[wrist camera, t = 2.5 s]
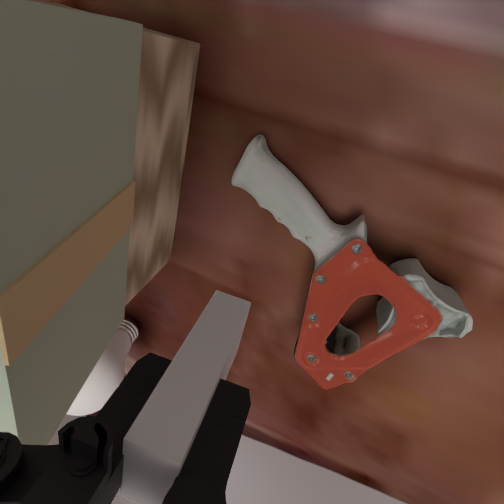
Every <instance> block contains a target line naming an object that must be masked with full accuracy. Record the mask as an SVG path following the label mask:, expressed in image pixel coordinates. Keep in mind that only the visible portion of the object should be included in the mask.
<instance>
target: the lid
mask: <svg viewBox="0 0 504 504" xmlns="http://www.w3.org/2000/svg"><path fill="white" fill-rule="evenodd" d="M142 33H143V24H140V23H136V22H132V21H129V20H124V19H119V18H114V17H109V16H104V15H99V14H94V13H89V12H84V11H79V10H74V9H69V8H64V7H59V6H54V5H49V4H44V3H39V2H34V1H29V0H0V432H9V433H11V434H13V435H15V436H17V437H18V439H19V440H20V442H21V444H25V445H48V443H49V441H50V440H51V438H52V436H53V435H54V433H55V431H56V430H57V428H58V426H59V425H60V423H61V421H62V420H63V418H64V416H65V415H66V413H67V412H68V410H69V408H70V407H71V405H72V403H73V402H74V400H75V398H76V397H77V395H78V393H79V392H80V390H81V388H82V387H83V385H84V383H85V382H86V380H87V378H88V377H89V375H90V373H91V372H92V370H93V369H94V367H95V365H96V364H97V362H98V360H99V359H100V357H101V355H102V354H103V352H104V350H105V349H106V347H107V345H108V344H109V342H110V340H111V339H112V337H113V335H114V334H115V332H116V330H117V329H118V327H119V326H120V324H121V322H122V321H123V319H124V315H125V299H126V284H127V268H128V252H129V237H130V228H131V227H132V226H133V212H134V197H135V183H136V181H134V180H133V174H134V158H135V143H136V127H137V111H138V96H139V80H140V64H141V49H142Z"/></svg>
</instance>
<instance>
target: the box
mask: <svg viewBox="0 0 504 504" xmlns="http://www.w3.org/2000/svg"><path fill="white" fill-rule="evenodd" d="M29 1H34V2H39V3H44V4H49V5H54V6H59V7H64V8H69V9H74V10H79V11H83V10H80V9H76V8H72V7H69V6H65V5H62V4H58V3H53V2H49V1H45V0H29ZM84 12H87V11H84ZM89 13H90V12H89ZM200 45H201V44H200V43H197V42H193V41H190V40H186V39H183V38H179V37H176V36H172V35H168V34H165V33H161V32H158V31H154V30H151V29H147V28H144V27H143V33H142V49H141V64H140V80H139V96H138V111H137V127H136V143H135V158H134V174H133V180H134V181H136V183H135V197H134V212H133V226H132V227H131V228H130V237H129V252H128V268H127V284H126V299H125V306H126V305H127V304H128V303H129V302H130V301H131V300H132V299H133V298H134V296H135V295H136V294H137V293H138V292H139V291H140V290H141V289H142V288H143V287H144V286H145V285H146V284H147V283H148V282H149V281H150V280H151V279H152V278H153V277H154V276H155V275H156V274H157V273H158V272H159V271H160V270H161V269H162V268H163V267H164V265H165V264H166V263H167V262H168V261H169V260H170V259H171V255H172V247H173V240H174V233H175V226H176V219H177V211H178V204H179V197H180V190H181V182H182V175H183V168H184V161H185V154H186V146H187V139H188V132H189V125H190V117H191V110H192V103H193V96H194V88H195V81H196V74H197V67H198V60H199V52H200Z"/></svg>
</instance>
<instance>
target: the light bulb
mask: <svg viewBox="0 0 504 504" xmlns="http://www.w3.org/2000/svg"><path fill="white" fill-rule="evenodd" d="M138 335H139V327H138V325H137V324H136V323H135V322H134V321H133V320H131V319H130V318H126V317H124V319H123V321H122V322H121V324H120V326H119V327H118V329H117V330H116V332H115V334H114V335H113V337H112V339H111V340H110V342H109V344H108V345H107V347H106V349H105V350H104V352H103V354H102V355H101V357H100V359H99V360H98V362H97V364H96V365H95V367H94V369H93V370H92V372H91V373H90V375H89V377H88V378H87V380H86V382H85V383H84V385H83V387H82V388H81V390H80V392H79V393H78V395H77V397H76V398H75V400H74V402H73V403H72V405H71V407H70V408H69V410H68V412H67V413H66V414H68V415H73V416H77V415H78V416H83V415H88V414H92V413H94V412H96V411H98V410H101V409H102V407H103V406H104V405H105V403H106V402H107V401H108V399H109V398H110V397H111V395H112V394H113V393H114V391H115V390H116V388H117V387H119V384H120V383H121V382H122V380H123V379H124V368H125V358H126V355H127V354H128V352H129V350H130V348H131V344H132V343H133V342H134V341H135V340H136V338H138Z"/></svg>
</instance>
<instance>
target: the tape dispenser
mask: <svg viewBox="0 0 504 504" xmlns="http://www.w3.org/2000/svg"><path fill="white" fill-rule="evenodd" d="M231 183H232V185H233V186H236V187H240V188H242V189H244V190H245V191H247V192H248V193H249V194H251V195H252V196H253V197H254V199H255V200H256V201H257V203H258V205H259V206H260V207H262V208H265V209H267V210H268V211H270V212H271V213H272V214H273V216H274V217H275V219H276V220H277V222H280V223H282V224H284V225H285V226H286V227H287V228H288V229H289V230H290V233H291V235H292V236H293V237H294V238H296V239H299V240H301V241H302V242H303V243H305V244H306V245H307V246H308V247H309V248H310V249H311V250H312V252H313V255H314V257H315V269H314V272H313V275H312V279H311V284H310V288H309V293H308V298H307V302H306V307H305V312H304V316H303V321H302V325H301V328H300V332H299V335H298V338H297V342H296V345H295V349H294V356H295V359H296V361H297V363H298V364H299V365H300V366H301V367H302V368H303V369H304V370H305V371H307V372H308V373H309V374H310V375H311V376H312V377H313V378H314V379H315V380H316V382H317V383H318V384H319V385H320V386H321V387H322V388H324V389H326V390H327V389H331V388H333V387H336V386H338V385H341V384H343V383H350V382H353V381H355V380H356V379H357V378H358V376H359V375H360V374H363V372H364V371H366V370H369V368H371V367H373V366H375V365H377V364H378V363H379V362H381V361H383V360H384V359H386V358H388V357H390V356H391V355H393V354H395V353H397V352H400V351H402V350H404V349H406V348H408V347H409V346H411V345H413V344H415V343H417V342H419V341H421V340H423V339H425V338H427V337H460V338H462V337H463V336H464V335H465V334H466V333H468V332H469V331H471V330H472V326H473V320H472V317H471V315H469V313H468V311H467V310H466V308H465V306H464V304H463V302H462V300H461V298H460V297H459V295H458V294H457V292H456V291H455V290H453V289H452V288H451V287H449V286H446V285H443V284H441V283H439V282H437V281H436V280H434V279H433V278H432V277H430V276H429V274H428V273H427V272H426V271H425V270H424V268H423V267H422V265H421V264H420V262H419V260H418V259H413V258H410V259H403V260H400V261H397V262H394V263H393V264H391V265H390V266H389V268H388V267H387V266H386V265H385V264H384V263H383V262H381V261H380V260H378V259H377V257H376V256H375V254H374V253H373V251H372V249H371V248H370V247H369V246H368V244H367V225H366V223H365V219H364V215H361V216H359V217H358V218H357V219H356V220H354V221H353V222H352V223H350V224H348V225H345V226H343V225H339V224H336V223H334V222H333V221H331V220H330V219H329V217H328V216H327V214H326V213H325V212H324V210H323V209H322V208H321V206H320V205H319V204H318V202H317V201H316V200H315V199H314V197H313V196H312V195H311V194H310V192H309V191H308V190H307V189H306V188H305V186H304V185H303V184H302V183H301V182H300V181H299V180H298V179H297V178H296V176H295V175H294V174H293V173H292V172H291V171H290V170H289V169H288V168H287V167H285V166H284V165H283V164H282V163H281V162H280V161H279V160H278V159H276V158H275V157H274V156H273V155H272V153H271V152H270V151H269V149H268V146H267V144H266V138H265V137H264V136H263V135H257V136H256V137H255V138H253V140H252V141H251V142H250V143H249V145H248V146H247V148H246V150H245V151H244V153H243V156H242V158H241V160H240V162H239V163H238V165H237V167H236V169H235V170H234V173H233V176H232V180H231ZM373 294H379V295H381V296H383V297H382V298H381V299H380V300H379V301H378V302H377V307H376V316H377V324H378V335H377V337H376V339H375V340H374V341H372V342H370V343H368V344H367V345H365V346H364V347H363V348H360V349H359V345H360V337H359V335H358V334H357V333H355V332H354V331H352V330H351V329H348V328H346V327H344V326H343V325H341V324H340V323H339V321H340V319H341V318H342V317H343V316H344V314H345V312H346V311H347V309H348V308H349V307H350V305H351V304H352V303H353V302H354V301H355V300H356V299H357V298H359V297H362V296H366V295H373Z"/></svg>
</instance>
